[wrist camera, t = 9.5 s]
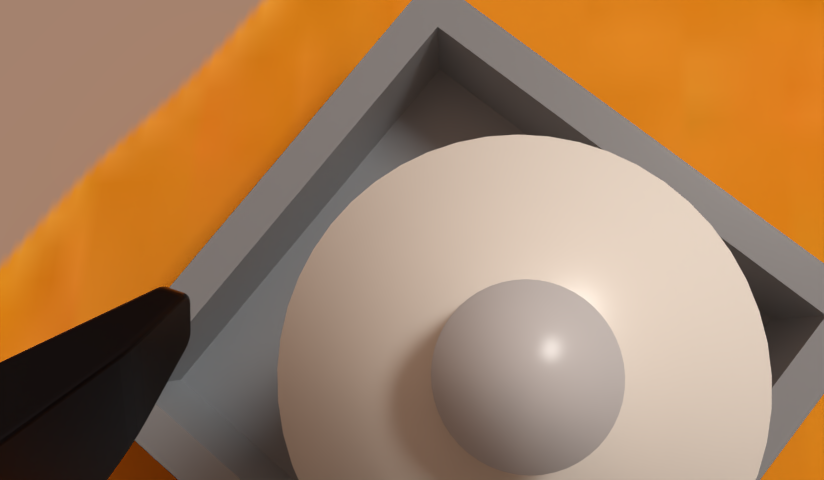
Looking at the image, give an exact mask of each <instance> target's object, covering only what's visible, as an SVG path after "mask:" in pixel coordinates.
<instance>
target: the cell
mask: <svg viewBox="0 0 824 480" xmlns="http://www.w3.org/2000/svg"><path fill="white" fill-rule="evenodd" d="M277 378H278V404H279V410H280V417H281V423H282V430H283V435H284V439H285V442H286V445H287V449H288V452H289V456H290V459H291V463H292V466H293V468H294V471H295V473H296V475H297V477H298V480H756V478H757V476H758V473H759V469H760V465H761V462H762V458H763V455H764V451H765V448H766V444H767V439H768V431H769V424H770V417H771V410H772V374H771V366H770V358H769V350H768V342H767V339H766V335H765V331H764V327H763V323H762V320H761V316H760V312H759V309H758V306H757V304H756V302H755V299H754V297H753V294H752V292H751V289H750V287H749V284H748V282H747V279H746V278H745V276H744V274H743V272H742V271H741V269H740V267H739V265H738V263H737V262H736V260H735V258H734V256H733V255H732V253H731V251H730V250H729V248H728V247H727V246H726V244H725V243H724V242H723V240H722V239H721V238H720V236H719V235H718V234H717V232H716V231H715V229H714V228H713V227H712V225H711V224H710V223H709V222H708V221H707V220H706V219H705V218H704V217H703V216H702V215H701V214H700V213H699V212H698V211H697V210H696V209H695V208H694V207H693V205H692V204H691V203H690V202H689V201H687V200H686V199H685V198H684V197H682V196H681V195H680V194H679V193H678V192H676V191H675V190H674V189H673V188H671V187H670V186H669V185H668V184H666V183H665V182H664V181H662V180H661V179H659V178H658V177H656V176H654V175H653V174H651V173H650V172H648V171H646V170H645V169H643V168H642V167H640V166H638V165H637V164H634V163H632V162H630V161H628V160H626V159H624V158H621V157H619V156H617V155H615V154H613V153H611V152H608V151H605V150H602V149H599V148H596V147H593V146H590V145H587V144H583V143H580V142H576V141H571V140H565V139H560V138H555V137H549V136H534V135H503V136H488V137H482V138H477V139H472V140H467V141H462V142H457V143H454V144H451V145H448V146H445V147H442V148H439V149H436V150H433V151H430V152H427V153H425V154H423V155H421V156H419V157H417V158H415V159H413V160H410V161H408V162H406V163H404V164H402V165H400V166H399V167H397V168H396V169H394V170H392V171H391V172H389V173H388V174H386V175H385V176H383V177H382V178H380V179H379V180H377V181H375V182H374V183H373V184H372V185H371V186H369V187H368V188H367V189H366V190H365V191H364V192H362V193H361V194H360V195H359V196H358V197H356V198H355V199H354V200H353V201H352V202H351V203H350V204H349V205H348V206H347V207H346V208H345V209H344V210H343V212H342V213H341V214H340V215H339V216H338V217H337V218H336V219H335V220H334V221H333V223H332V224H331V225H330V226H329V228H328V229H327V231H326V232H325V233H324V235H323V236H322V238H321V239H320V241H319V242H318V243H317V245H316V246H315V248H314V249H313V251H312V253H311V255H310V257H309V258H308V260H307V262H306V264H305V266H304V268H303V270H302V272H301V274H300V276H299V278H298V280H297V283H296V286H295V288H294V291H293V294H292V296H291V299H290V302H289V304H288V307H287V312H286V316H285V320H284V325H283V329H282V333H281V338H280V347H279V357H278V367H277Z"/></svg>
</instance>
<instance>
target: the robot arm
mask: <svg viewBox="0 0 824 480" xmlns="http://www.w3.org/2000/svg"><path fill="white" fill-rule="evenodd" d="M190 334H191V313H190V298H189V296H188V295H187V294H185V293H183V292H180V291H177V290H174V289H171V288H168V287H159V288H156V289H154V290H152V291H150V292H148V293H146V294H144V295H142V296H139V297H137V298H135V299H133V300H131V301H129V302H127V303H125V304H123V305H120V306H118V307H116V308H114V309H112V310H110V311H108V312H106V313H104V314H101V315H99V316H97V317H95V318H93V319H91V320H89V321H87V322H85V323H82V324H80V325H78V326H76V327H74V328H72V329H70V330H68V331H66V332H63V333H61V334H59V335H57V336H55V337H53V338H51V339H49V340H47V341H44V342H42V343H40V344H38V345H36V346H34V347H32V348H30V349H28V350H25V351H23V352H21V353H19V354H17V355H15V356H13V357H11V358H9V359H6V360H4V361H2V362H0V480H107V479H108V478H109V476H110V475H111V474H112V472H113V471H114V469H115V468H116V467H117V465H118V464H119V462H120V461H121V459H122V458H123V457H124V455H125V454H126V452H127V451H128V449H129V448H130V446H131V445H132V443H133V442H134V440H135V439H136V437H137V436H138V434H139V433H140V431H141V429H142V427H143V426H144V424H145V422H146V421H147V419H148V417H149V415H150V413H151V411H152V410H153V408H154V406H155V404H156V402H157V400H158V399H159V397H160V395H161V393H162V391H163V390H164V388H165V386H166V384H167V382H168V380H169V379H170V377H171V375H172V373H173V371H174V369H175V368H176V366H177V364H178V362H179V360H180V358H181V357H182V355H183V353H184V351H185V349H186V347H187V345H188V342H189V339H190Z"/></svg>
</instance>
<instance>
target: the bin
mask: <svg viewBox="0 0 824 480" xmlns="http://www.w3.org/2000/svg"><path fill="white" fill-rule="evenodd" d="M503 135H534V136H549V137H555V138H560V139H565V140H571V141H576V142H580V143H583V144H587V145H590V146H593V147H596V148H599V149H602V150H605V151H608V152H611V153H613V154H615V155H617V156H619V157H621V158H624V159H626V160H628V161H630V162H632V163H634V164H637V165H638V166H640V167H642V168H643V169H645V170H646V171H648V172H650V173H651V174H653V175H654V176H656V177H658V178H659V179H661V180H662V181H664V182H665V183H666V184H668V185H669V186H670V187H671V188H673V189H674V190H675V191H676V192H678V193H679V194H680V195H681V196H682V197H684V198H685V199H686V200H687V201H689V202H690V203H691V204H692V205H693V207H694V208H695V209H696V210H697V211H698V212H699V213H700V214H701V215H702V216H703V217H704V218H705V219H706V220H707V221H708V222H709V223H710V224H711V225H712V227H713V228H714V229H715V231H716V232H717V234H718V235H719V236H720V238H721V239H722V240H723V242H724V243H725V244H726V246H727V247H728V248H729V250H730V251H731V253H732V255H733V256H734V258H735V260H736V262H737V263H738V265H739V267H740V269H741V271H742V272H743V274H744V276H745V278H746V279H747V282H748V284H749V287H750V289H751V292H752V294H753V297H754V299H755V302H756V304H757V306H758V309H759V312H760V316H761V320H762V323H763V327H764V331H765V335H766V339H767V342H768V350H769V358H770V366H771V374H772V410H771V417H770V424H769V431H768V439H767V444H766V448H765V451H764V455H763V458H762V462H761V465H760V469H759V473H758V476H757V478H756V480H760V479H761V478H762V476H763V475H764V473H765V472H766V471H767V469H768V468H769V467H770V465H771V464H772V463H773V461H774V460H775V459H776V457H777V456H778V455H779V453H780V452H781V451H782V449H783V448H784V447H785V445H786V444H787V443H788V441H789V440H790V438H791V437H792V436H793V434H794V433H795V432H796V430H797V429H798V428H799V426H800V425H801V424H802V422H803V421H804V420H805V418H806V417H807V416H808V414H809V413H810V412H811V410H812V409H813V408H814V406H815V405H816V403H817V402H818V401H819V399H820V398H821V397H822V395H823V394H824V263H822V262H821V261H820V260H818V259H817V258H816V257H814V256H813V255H811V254H810V253H809V252H807V251H806V250H805V249H803V248H802V247H800V246H799V245H798V244H796V243H795V242H794V241H792V240H791V239H790V238H788V237H787V236H785V235H784V234H783V233H781V232H780V231H779V230H777V229H776V228H775V227H773V226H772V225H770V224H769V223H768V222H766V221H765V220H764V219H762V218H761V217H760V216H758V215H757V214H755V213H754V212H753V211H751V210H750V209H749V208H747V207H746V206H744V205H743V204H742V203H740V202H739V201H738V200H736V199H735V198H734V197H732V196H731V195H729V194H728V193H727V192H725V191H724V190H723V189H721V188H720V187H719V186H717V185H716V184H714V183H713V182H712V181H710V180H709V179H708V178H706V177H705V176H703V175H702V174H701V173H699V172H698V171H697V170H695V169H694V168H693V167H691V166H690V165H688V164H687V163H686V162H684V161H683V160H682V159H680V158H679V157H678V156H676V155H675V154H673V153H672V152H671V151H669V150H668V149H667V148H665V147H664V146H663V145H661V144H660V143H658V142H657V141H656V140H654V139H653V138H652V137H650V136H649V135H647V134H646V133H645V132H643V131H642V130H641V129H639V128H638V127H637V126H635V125H634V124H632V123H631V122H630V121H628V120H627V119H626V118H624V117H623V116H622V115H620V114H619V113H617V112H616V111H615V110H613V109H612V108H611V107H609V106H608V105H607V104H605V103H604V102H602V101H601V100H600V99H598V98H597V97H596V96H594V95H593V94H591V93H590V92H589V91H587V90H586V89H585V88H583V87H582V86H581V85H579V84H578V83H576V82H575V81H574V80H572V79H571V78H570V77H568V76H567V75H566V74H564V73H563V72H561V71H560V70H559V69H557V68H556V67H555V66H553V65H552V64H550V63H549V62H548V61H546V60H545V59H544V58H542V57H541V56H540V55H538V54H537V53H535V52H534V51H533V50H531V49H530V48H529V47H527V46H526V45H525V44H523V43H522V42H520V41H519V40H518V39H516V38H515V37H514V36H512V35H511V34H510V33H508V32H507V31H505V30H504V29H503V28H501V27H500V26H499V25H497V24H496V23H494V22H493V21H492V20H490V19H489V18H488V17H486V16H485V15H484V14H482V13H481V12H479V11H478V10H477V9H475V8H474V7H473V6H471V5H470V4H469V3H467V2H466V1H464V0H412V1H411V2H410V3H409V4H408V6H407V7H406V8H405V9H404V10H403V12H402V13H401V14H400V15H399V16H398V17H397V19H396V20H395V21H394V22H393V23H392V25H391V26H390V27H389V28H388V29H387V30H386V32H385V33H384V34H383V35H382V36H381V38H380V39H379V40H378V41H377V42H376V43H375V45H374V46H373V47H372V48H371V49H370V51H369V52H368V53H367V54H366V55H365V57H364V58H363V59H362V60H361V61H360V62H359V64H358V65H357V66H356V67H355V68H354V70H353V71H352V72H351V73H350V74H349V75H348V77H347V78H346V79H345V80H344V81H343V83H342V84H341V85H340V86H339V87H338V89H337V90H336V91H335V92H334V93H333V94H332V96H331V97H330V98H329V99H328V100H327V102H326V103H325V104H324V105H323V106H322V107H321V109H320V110H319V111H318V112H317V113H316V115H315V116H314V117H313V118H312V119H311V120H310V122H309V123H308V124H307V125H306V126H305V128H304V129H303V130H302V131H301V132H300V134H299V135H298V136H297V137H296V138H295V139H294V141H293V142H292V143H291V144H290V145H289V147H288V148H287V149H286V150H285V151H284V152H283V154H282V155H281V156H280V157H279V158H278V160H277V161H276V162H275V163H274V164H273V166H272V167H271V168H270V169H269V170H268V171H267V173H266V174H265V175H264V176H263V177H262V179H261V180H260V181H259V182H258V183H257V184H256V186H255V187H254V188H253V189H252V190H251V192H250V193H249V194H248V195H247V196H246V197H245V199H244V200H243V201H242V202H241V203H240V205H239V206H238V207H237V208H236V209H235V211H234V212H233V213H232V214H231V215H230V216H229V218H228V219H227V220H226V221H225V222H224V224H223V225H222V226H221V227H220V228H219V229H218V231H217V232H216V233H215V234H214V235H213V237H212V238H211V239H210V240H209V241H208V243H207V244H206V245H205V246H204V247H203V248H202V250H201V251H200V252H199V253H198V254H197V256H196V257H195V258H194V259H193V260H192V261H191V263H190V264H189V265H188V266H187V267H186V269H185V270H184V271H183V272H182V273H181V274H180V276H179V277H178V278H177V279H176V280H175V282H174V283H173V284H172V285H171V286H170V288H171V289H174V290H177V291H180V292H183V293H185V294H187V295H188V296H189V298H190V313H191V334H190V339H189V342H188V345H187V347H186V349H185V351H184V353H183V355H182V357H181V358H180V360H179V362H178V364H177V366H176V368H175V369H174V371H173V373H172V375H171V377H170V379H169V380H168V382H167V384H166V386H165V388H164V390H163V391H162V393H161V395H160V397H159V399H158V400H157V402H156V404H155V406H154V408H153V410H152V411H151V413H150V415H149V417H148V419H147V421H146V422H145V424H144V426H143V427H142V429H141V431H140V433H139V434H138V436H137V437H136V439H135V441H136V442H137V443H138V444H139V445H140V446H141V447H142V448H144V449H145V450H146V451H147V452H148V453H149V454H150V455H151V456H152V457H153V458H155V459H156V460H157V461H158V462H159V463H160V464H161V465H162V466H163V467H164V468H166V469H167V470H168V471H169V472H170V473H171V474H172V475H173V476H174V477H175V478H177V479H178V480H298V477H297V475H296V473H295V471H294V468H293V466H292V463H291V459H290V456H289V452H288V449H287V445H286V442H285V439H284V435H283V430H282V423H281V417H280V410H279V404H278V378H277V367H278V357H279V347H280V338H281V333H282V329H283V325H284V320H285V316H286V312H287V307H288V304H289V302H290V299H291V296H292V294H293V291H294V288H295V286H296V283H297V280H298V278H299V276H300V274H301V272H302V270H303V268H304V266H305V264H306V262H307V260H308V258H309V257H310V255H311V253H312V251H313V249H314V248H315V246H316V245H317V243H318V242H319V241H320V239H321V238H322V236H323V235H324V233H325V232H326V231H327V229H328V228H329V226H330V225H331V224H332V223H333V221H334V220H335V219H336V218H337V217H338V216H339V215H340V214H341V213H342V212H343V210H344V209H345V208H346V207H347V206H348V205H349V204H350V203H351V202H352V201H353V200H354V199H355V198H356V197H358V196H359V195H360V194H361V193H362V192H364V191H365V190H366V189H367V188H368V187H369V186H371V185H372V184H373V183H374V182H375V181H377V180H379V179H380V178H382V177H383V176H385V175H386V174H388V173H389V172H391V171H392V170H394V169H396V168H397V167H399V166H400V165H402V164H404V163H406V162H408V161H410V160H413V159H415V158H417V157H419V156H421V155H423V154H425V153H427V152H430V151H433V150H436V149H439V148H442V147H445V146H448V145H451V144H454V143H457V142H462V141H467V140H472V139H477V138H482V137H488V136H503Z"/></svg>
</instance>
